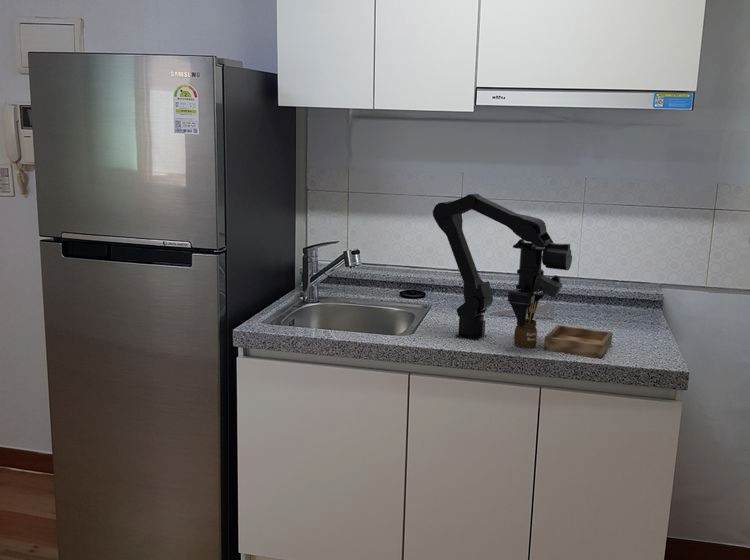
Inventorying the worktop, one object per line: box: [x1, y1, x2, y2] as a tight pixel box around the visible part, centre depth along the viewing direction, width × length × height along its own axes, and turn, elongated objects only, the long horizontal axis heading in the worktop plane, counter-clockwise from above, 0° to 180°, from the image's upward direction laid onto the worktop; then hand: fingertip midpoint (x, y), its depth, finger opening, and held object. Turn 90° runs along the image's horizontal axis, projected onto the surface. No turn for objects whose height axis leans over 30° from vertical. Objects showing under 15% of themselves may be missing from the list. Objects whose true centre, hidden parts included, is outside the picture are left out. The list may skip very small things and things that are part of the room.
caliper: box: [487, 300, 555, 320], centre depth 230 cm, size 20×1×6 cm, turn 79°
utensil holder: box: [513, 301, 538, 349], centre depth 197 cm, size 6×6×12 cm
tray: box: [543, 324, 613, 359], centre depth 198 cm, size 15×15×4 cm
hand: (526, 322), depth 197 cm, fingers open, 9 cm apart
